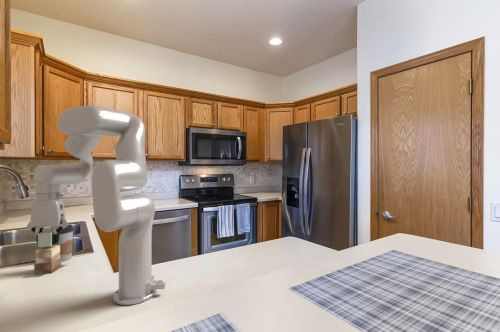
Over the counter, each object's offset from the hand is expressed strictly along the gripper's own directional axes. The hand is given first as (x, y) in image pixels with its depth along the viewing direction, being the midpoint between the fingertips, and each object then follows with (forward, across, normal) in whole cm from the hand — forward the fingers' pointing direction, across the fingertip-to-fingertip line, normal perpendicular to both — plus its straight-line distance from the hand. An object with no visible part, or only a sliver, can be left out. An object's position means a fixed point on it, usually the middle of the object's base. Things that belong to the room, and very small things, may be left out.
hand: (48, 243), depth 100 cm
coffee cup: (+12, +2, -12) cm, 17 cm away
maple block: (+7, 0, 0) cm, 7 cm away
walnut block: (+11, 0, 0) cm, 11 cm away
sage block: (0, 0, 0) cm, 0 cm away
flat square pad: (+11, 0, 0) cm, 11 cm away
